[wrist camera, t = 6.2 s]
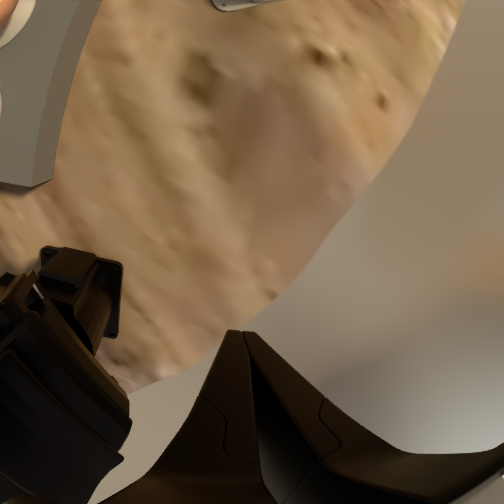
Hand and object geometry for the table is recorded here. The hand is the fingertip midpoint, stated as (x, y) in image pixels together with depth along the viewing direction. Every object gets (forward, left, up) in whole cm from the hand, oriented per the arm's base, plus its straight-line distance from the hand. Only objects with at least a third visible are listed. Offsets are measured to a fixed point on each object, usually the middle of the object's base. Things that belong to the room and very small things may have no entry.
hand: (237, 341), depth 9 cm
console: (+12, +18, -12) cm, 25 cm away
